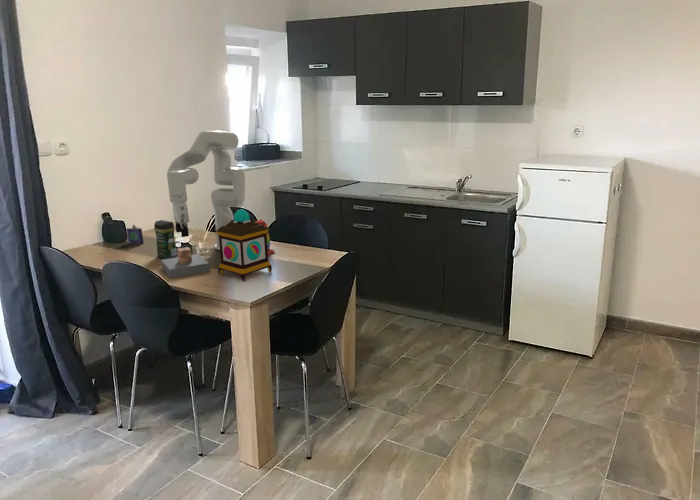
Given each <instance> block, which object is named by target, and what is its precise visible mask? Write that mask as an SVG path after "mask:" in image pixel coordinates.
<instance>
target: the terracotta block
mask: <svg viewBox="0 0 700 500" xmlns="http://www.w3.org/2000/svg"><path fill="white" fill-rule="evenodd" d="M176 250H177V257H178V261H179V262H180V263H181V264H182V263H188V262H192V257H191V255H192V250H191V248H190V247H187V246H186V247H181V248H179V247H178V248H176Z"/></svg>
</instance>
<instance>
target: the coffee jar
mask: <svg viewBox="0 0 700 500" xmlns="http://www.w3.org/2000/svg"><path fill="white" fill-rule="evenodd" d="M153 228H154V231H155V237H156V251H157V253H156V254H157V257H160V258H162V259H170V258H176V257H177V256H178V251H177V246H176V238H175V224H174V222H173V221H168V220H164V219H160V220H157V221H155V222H154V227H153Z"/></svg>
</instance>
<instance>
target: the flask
mask: <svg viewBox="0 0 700 500" xmlns="http://www.w3.org/2000/svg"><path fill="white" fill-rule="evenodd" d="M125 229H126V235H127V236H126V238H127V244H129V245H138V244H139V245H140V244H141V246H142V244H143V245H144V236H143V232H142V231H143V230H142V228H141V227H138V226H136V224H132V227H127V228H125Z"/></svg>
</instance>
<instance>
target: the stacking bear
mask: <svg viewBox="0 0 700 500" xmlns="http://www.w3.org/2000/svg"><path fill="white" fill-rule="evenodd" d="M255 222H256V223H258V224H262V225H264V226H266V227H267V228H268V229H269V225H268V223H267V222H266V221H265V220H263V219H259V220H256V221H255ZM267 250H268V258H269V257H270V255H273V254H275V252H276V251H275V250H274V249H272V248H271V238H270V235H269V231H268V232H267Z"/></svg>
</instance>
